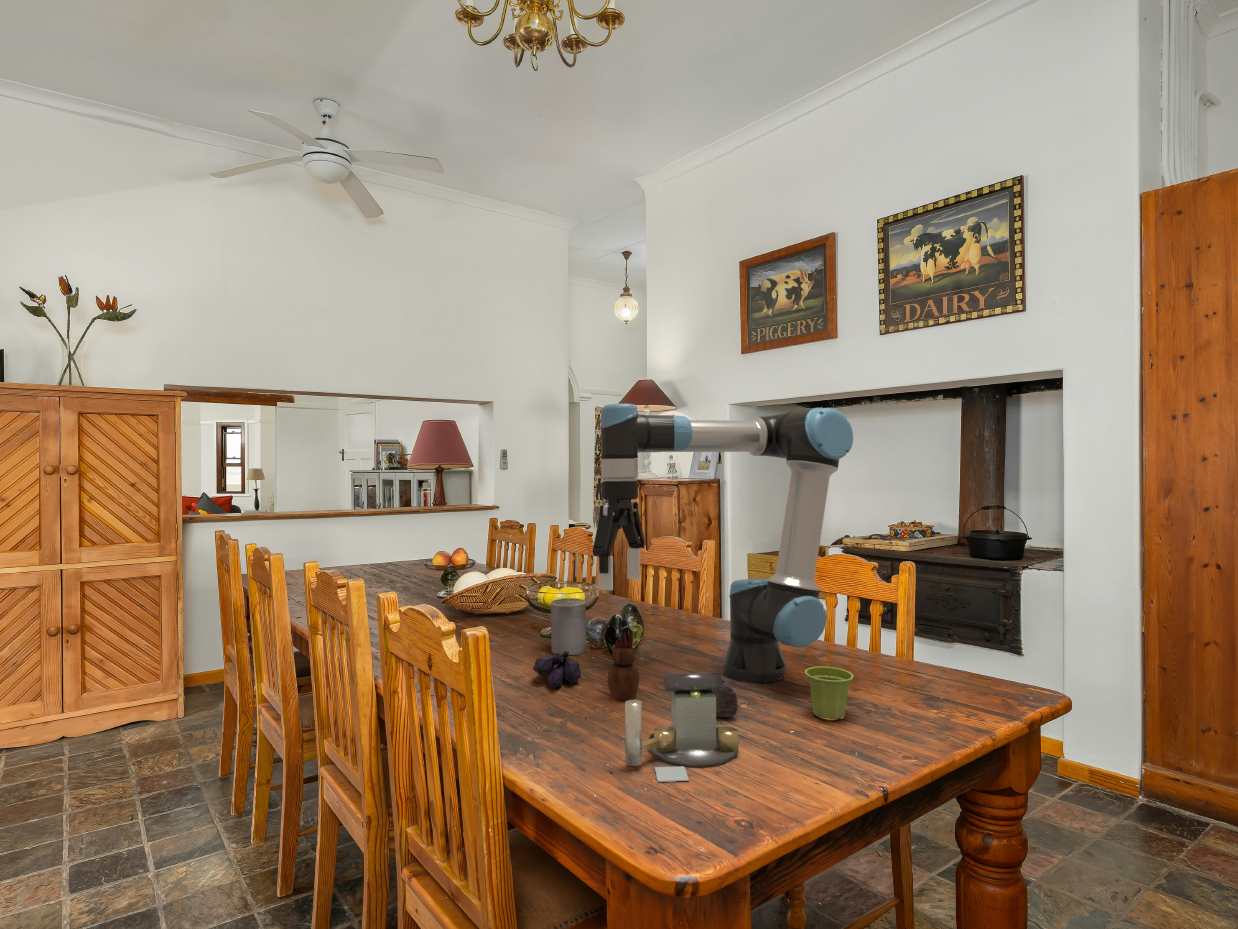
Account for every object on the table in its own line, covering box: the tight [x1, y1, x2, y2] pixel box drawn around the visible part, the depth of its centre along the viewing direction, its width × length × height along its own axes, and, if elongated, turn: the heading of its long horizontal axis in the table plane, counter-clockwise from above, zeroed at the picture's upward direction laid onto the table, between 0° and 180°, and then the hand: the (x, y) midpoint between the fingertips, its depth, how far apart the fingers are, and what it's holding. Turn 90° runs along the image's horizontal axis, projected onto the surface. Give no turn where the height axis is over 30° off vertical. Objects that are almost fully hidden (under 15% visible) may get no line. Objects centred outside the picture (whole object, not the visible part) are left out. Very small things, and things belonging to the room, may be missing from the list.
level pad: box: [654, 766, 690, 783], centre depth 111 cm, size 5×5×1 cm
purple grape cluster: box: [532, 651, 582, 689], centre depth 162 cm, size 7×12×20 cm
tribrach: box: [648, 671, 739, 768], centre depth 122 cm, size 16×16×13 cm
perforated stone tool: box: [713, 678, 739, 719], centre depth 141 cm, size 15×5×7 cm, turn 7°
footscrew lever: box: [624, 699, 675, 767], centre depth 116 cm, size 10×4×10 cm, turn 129°
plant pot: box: [804, 666, 854, 720], centre depth 137 cm, size 9×9×9 cm
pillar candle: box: [550, 596, 588, 656], centre depth 187 cm, size 10×10×15 cm
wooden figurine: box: [607, 629, 640, 701], centre depth 148 cm, size 7×6×15 cm
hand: (620, 584), depth 138 cm, fingers open, 13 cm apart
